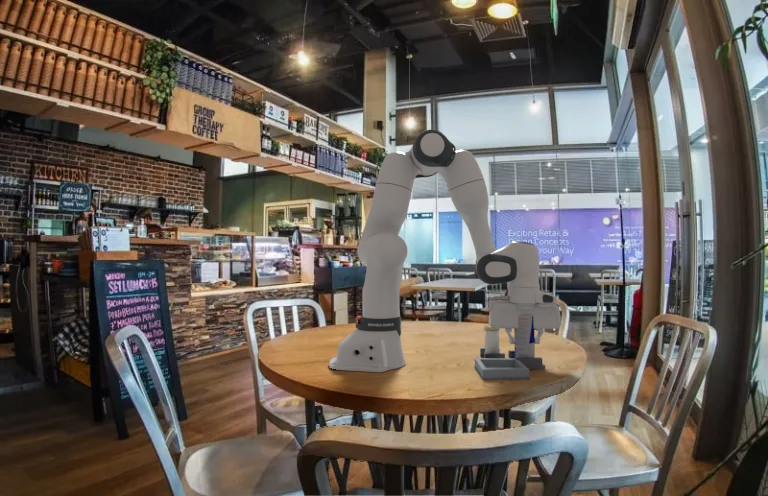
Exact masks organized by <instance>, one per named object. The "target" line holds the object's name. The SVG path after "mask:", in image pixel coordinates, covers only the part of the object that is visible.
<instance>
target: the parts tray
mask: <svg viewBox="0 0 768 496" xmlns="http://www.w3.org/2000/svg"><path fill="white" fill-rule="evenodd" d="M474 368H475V370H476V371H477V373H478V374H479V376H480V378H481V380H530V379H531V378H530V369H528V368H527V367H526V366H525V365H524V364H523V363H521V362H520V361H519V360H516V358H506V357H505V358H484V357H483V358H482V357H481V358H480V357H479V358H476V357H475V358H474Z"/></svg>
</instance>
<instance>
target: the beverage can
mask: <svg viewBox="0 0 768 496" xmlns="http://www.w3.org/2000/svg"><path fill="white" fill-rule="evenodd" d="M518 315H519V314H518ZM513 330H514V334H513V335H514V336H513V337H515V338H516V340H515V342H516V344H514V350H515V358H516V357H535V355H536V353H535V345H536V344H535V339H534V337H535V328H534V326H533V314H532V315H528V314H526V315H519V317H518V328H513Z"/></svg>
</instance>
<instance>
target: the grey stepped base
mask: <svg viewBox="0 0 768 496" xmlns="http://www.w3.org/2000/svg"><path fill="white" fill-rule="evenodd" d="M507 352H508V353H507V354H508V355H507V357H508V358H515V349H513V350H509V349H508V351H507ZM516 360H519V361H520V362H521V363H523V364H524V365H525V366H526V367H527V368H528V369H529V370H546V364H544V363H543V357H541V356H540V357H516Z"/></svg>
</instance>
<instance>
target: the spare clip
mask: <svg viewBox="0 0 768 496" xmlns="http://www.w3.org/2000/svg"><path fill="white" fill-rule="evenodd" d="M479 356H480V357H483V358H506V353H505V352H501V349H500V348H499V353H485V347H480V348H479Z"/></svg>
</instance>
